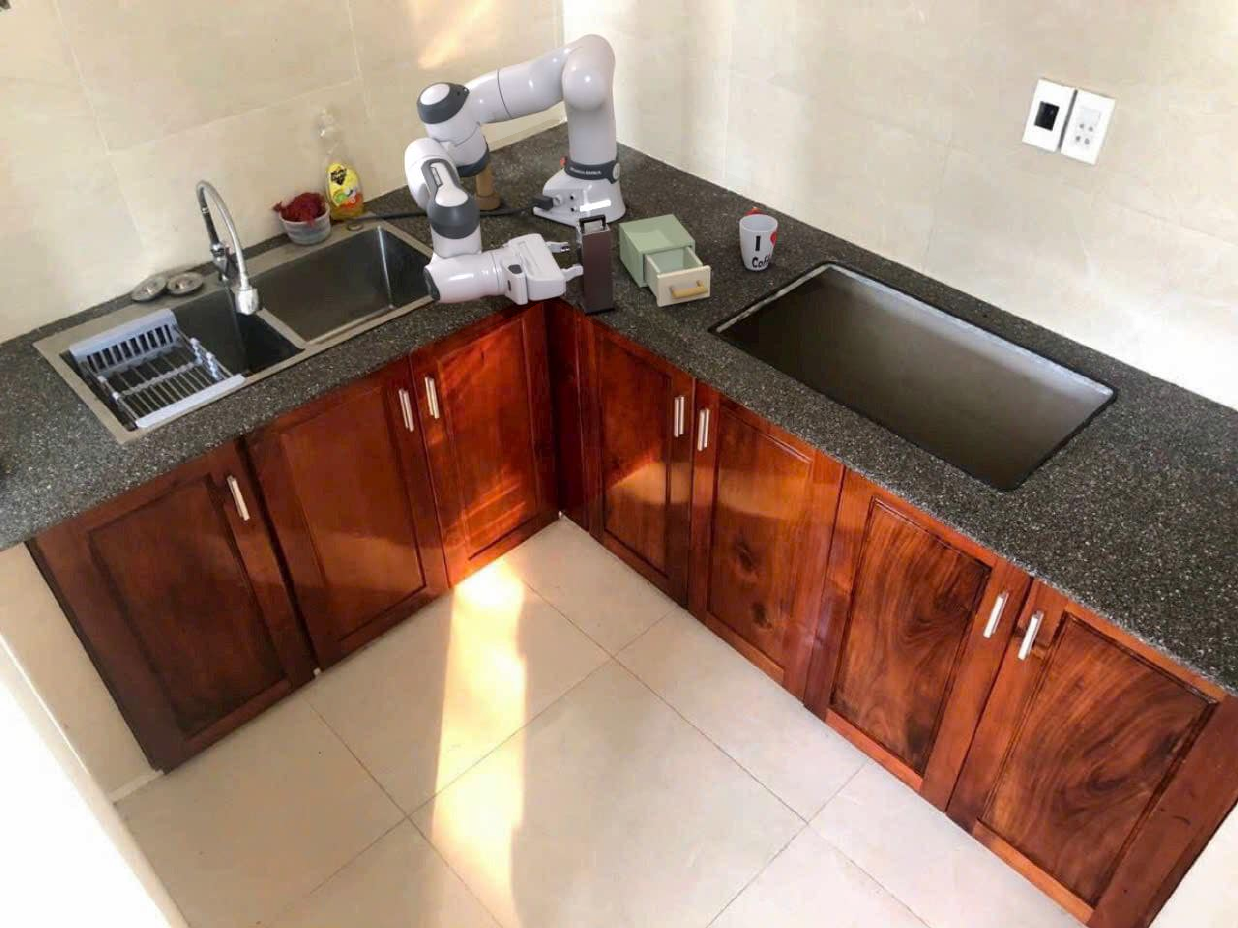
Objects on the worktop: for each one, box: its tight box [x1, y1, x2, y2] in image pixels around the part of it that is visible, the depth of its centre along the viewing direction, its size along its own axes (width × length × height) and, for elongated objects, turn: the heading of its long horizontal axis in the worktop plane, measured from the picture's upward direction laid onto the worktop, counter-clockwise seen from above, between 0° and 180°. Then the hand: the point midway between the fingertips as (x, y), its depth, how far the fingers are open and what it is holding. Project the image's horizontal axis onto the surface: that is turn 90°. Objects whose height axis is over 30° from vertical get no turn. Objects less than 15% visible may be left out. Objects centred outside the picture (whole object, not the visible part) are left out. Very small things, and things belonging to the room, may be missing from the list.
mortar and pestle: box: [472, 134, 501, 211], centre depth 241 cm, size 7×6×18 cm
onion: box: [744, 205, 766, 217], centre depth 227 cm, size 6×6×8 cm
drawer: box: [643, 246, 711, 308], centre depth 208 cm, size 17×11×7 cm
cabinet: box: [618, 213, 696, 288], centre depth 218 cm, size 14×13×9 cm
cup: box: [739, 214, 778, 271], centre depth 217 cm, size 8×8×10 cm
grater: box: [574, 214, 616, 317], centre depth 202 cm, size 5×6×20 cm
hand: (575, 257), depth 200 cm, fingers open, 8 cm apart
